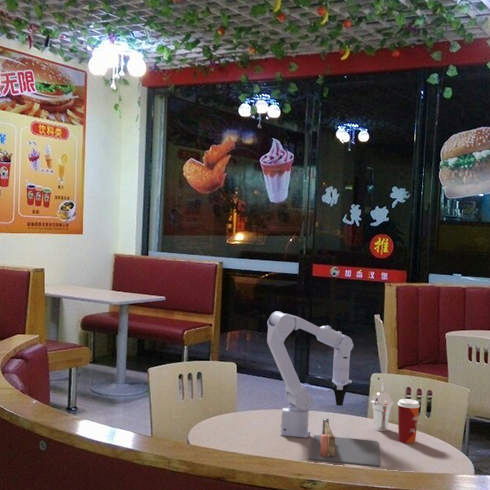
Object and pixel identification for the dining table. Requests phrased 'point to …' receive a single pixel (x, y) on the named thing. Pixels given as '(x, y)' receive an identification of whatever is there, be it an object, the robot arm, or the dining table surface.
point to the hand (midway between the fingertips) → (339, 405)
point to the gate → (330, 440)
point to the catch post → (324, 445)
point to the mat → (348, 451)
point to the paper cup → (407, 420)
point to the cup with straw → (381, 409)
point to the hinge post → (324, 424)
